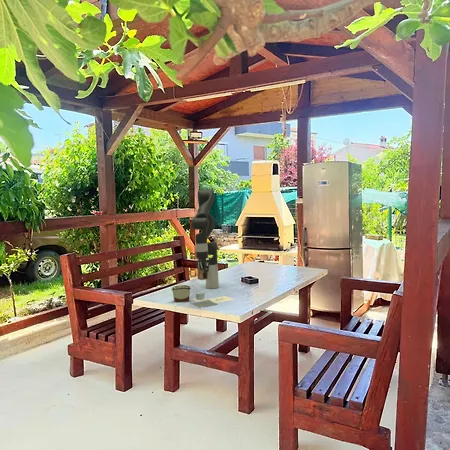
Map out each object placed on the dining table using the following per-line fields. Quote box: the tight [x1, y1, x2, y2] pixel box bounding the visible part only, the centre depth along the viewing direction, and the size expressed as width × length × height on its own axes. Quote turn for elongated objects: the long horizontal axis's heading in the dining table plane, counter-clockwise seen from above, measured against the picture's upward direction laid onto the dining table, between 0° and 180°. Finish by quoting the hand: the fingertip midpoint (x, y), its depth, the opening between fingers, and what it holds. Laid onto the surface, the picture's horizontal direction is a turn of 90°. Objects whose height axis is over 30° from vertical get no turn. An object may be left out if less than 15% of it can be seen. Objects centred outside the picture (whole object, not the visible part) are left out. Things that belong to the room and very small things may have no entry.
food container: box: [171, 284, 191, 303], centre depth 248 cm, size 12×6×10 cm, turn 92°
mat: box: [191, 300, 219, 309], centre depth 238 cm, size 12×12×1 cm
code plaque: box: [204, 295, 235, 304], centre depth 246 cm, size 12×16×1 cm
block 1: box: [196, 268, 209, 281], centre depth 237 cm, size 5×5×6 cm
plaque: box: [192, 297, 208, 302], centre depth 250 cm, size 8×8×1 cm
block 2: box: [195, 291, 206, 300], centre depth 250 cm, size 4×4×4 cm
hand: (203, 277), depth 237 cm, fingers closed on block 1, 5 cm apart
